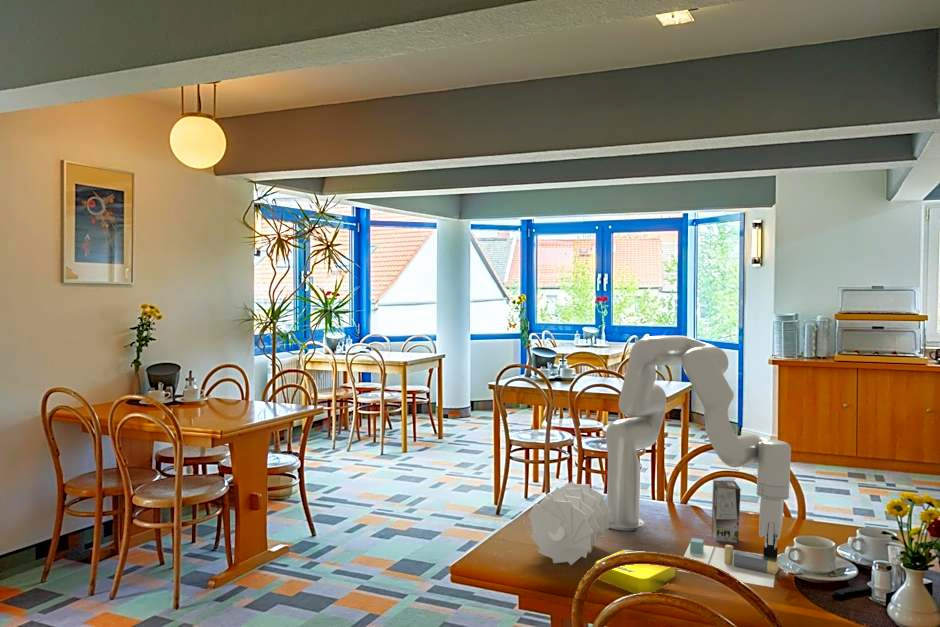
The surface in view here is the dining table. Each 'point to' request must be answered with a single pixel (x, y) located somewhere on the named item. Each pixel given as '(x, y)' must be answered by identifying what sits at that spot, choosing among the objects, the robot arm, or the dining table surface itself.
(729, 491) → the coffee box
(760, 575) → the latch board
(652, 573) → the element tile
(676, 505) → the dining table surface
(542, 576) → the dining table surface
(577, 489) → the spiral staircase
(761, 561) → the bar
